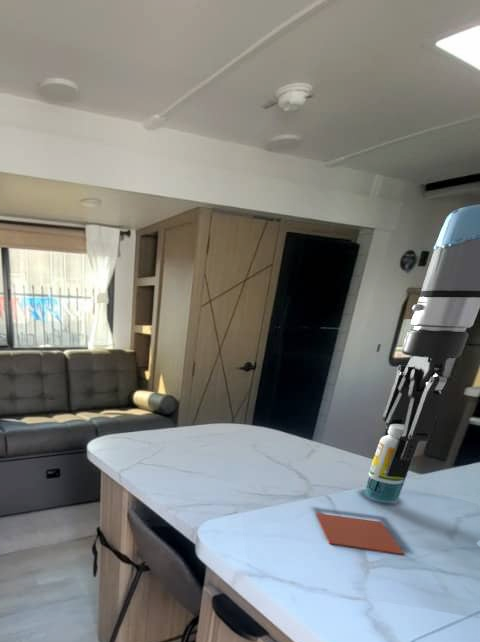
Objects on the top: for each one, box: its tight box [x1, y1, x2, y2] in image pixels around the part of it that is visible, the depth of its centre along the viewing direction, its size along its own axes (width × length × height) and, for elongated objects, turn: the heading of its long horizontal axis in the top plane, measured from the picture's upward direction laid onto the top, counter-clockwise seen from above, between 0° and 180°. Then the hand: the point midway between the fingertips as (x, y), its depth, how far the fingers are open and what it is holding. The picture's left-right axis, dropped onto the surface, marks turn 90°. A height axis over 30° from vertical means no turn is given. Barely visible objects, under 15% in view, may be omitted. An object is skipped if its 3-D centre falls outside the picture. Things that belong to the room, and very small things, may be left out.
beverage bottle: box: [365, 421, 420, 503], centre depth 86 cm, size 6×7×20 cm
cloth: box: [315, 512, 405, 556], centre depth 78 cm, size 12×12×1 cm
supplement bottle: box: [368, 424, 406, 484], centre depth 71 cm, size 5×5×10 cm
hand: (388, 469), depth 72 cm, fingers closed on supplement bottle, 5 cm apart
